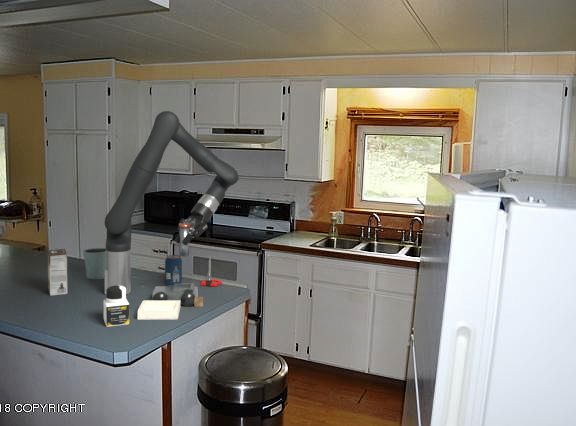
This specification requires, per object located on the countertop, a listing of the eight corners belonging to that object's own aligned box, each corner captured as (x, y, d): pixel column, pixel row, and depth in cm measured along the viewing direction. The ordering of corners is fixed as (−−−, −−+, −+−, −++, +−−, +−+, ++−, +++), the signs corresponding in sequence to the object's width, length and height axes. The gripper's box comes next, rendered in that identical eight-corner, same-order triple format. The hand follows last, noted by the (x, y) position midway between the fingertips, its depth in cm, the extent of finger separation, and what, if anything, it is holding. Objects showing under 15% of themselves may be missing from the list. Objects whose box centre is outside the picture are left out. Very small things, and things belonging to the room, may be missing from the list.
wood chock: (194, 306, 180) (194, 298, 180) (194, 304, 182) (194, 296, 182) (202, 306, 180) (202, 298, 180) (203, 304, 183) (203, 296, 182)
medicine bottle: (106, 327, 157) (106, 291, 155) (103, 320, 163) (103, 285, 161) (129, 324, 160) (129, 288, 158) (125, 317, 166) (125, 283, 165)
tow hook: (205, 281, 216) (198, 285, 207) (206, 252, 215) (199, 255, 206) (223, 282, 215) (217, 287, 206) (225, 253, 214) (219, 257, 204)
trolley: (151, 306, 178) (151, 291, 177) (155, 296, 190) (155, 282, 189) (195, 306, 180) (196, 291, 179) (197, 296, 192) (197, 282, 192)
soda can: (171, 281, 212) (172, 254, 210) (184, 283, 209) (185, 256, 208) (161, 284, 206) (161, 257, 204) (174, 287, 203) (175, 259, 201)
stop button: (177, 256, 182) (178, 224, 181) (178, 254, 186) (179, 222, 185) (189, 256, 183) (190, 225, 181) (190, 254, 187) (190, 223, 185)
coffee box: (47, 289, 193) (46, 249, 191) (65, 287, 196) (64, 248, 194) (49, 296, 185) (48, 254, 183) (68, 294, 189) (67, 253, 186)
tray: (137, 319, 165) (137, 310, 164) (143, 308, 176) (143, 300, 175) (177, 319, 166) (177, 310, 166) (180, 308, 178) (180, 300, 177)
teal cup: (113, 276, 215) (113, 249, 214) (93, 281, 207) (93, 253, 205) (98, 272, 221) (98, 246, 219) (78, 277, 212) (78, 250, 211)
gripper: (187, 200, 192) (162, 234, 184) (213, 204, 184) (187, 239, 175) (197, 212, 197) (173, 246, 189) (222, 216, 188) (198, 252, 180)
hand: (180, 242), depth 182 cm, fingers closed on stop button, 3 cm apart
